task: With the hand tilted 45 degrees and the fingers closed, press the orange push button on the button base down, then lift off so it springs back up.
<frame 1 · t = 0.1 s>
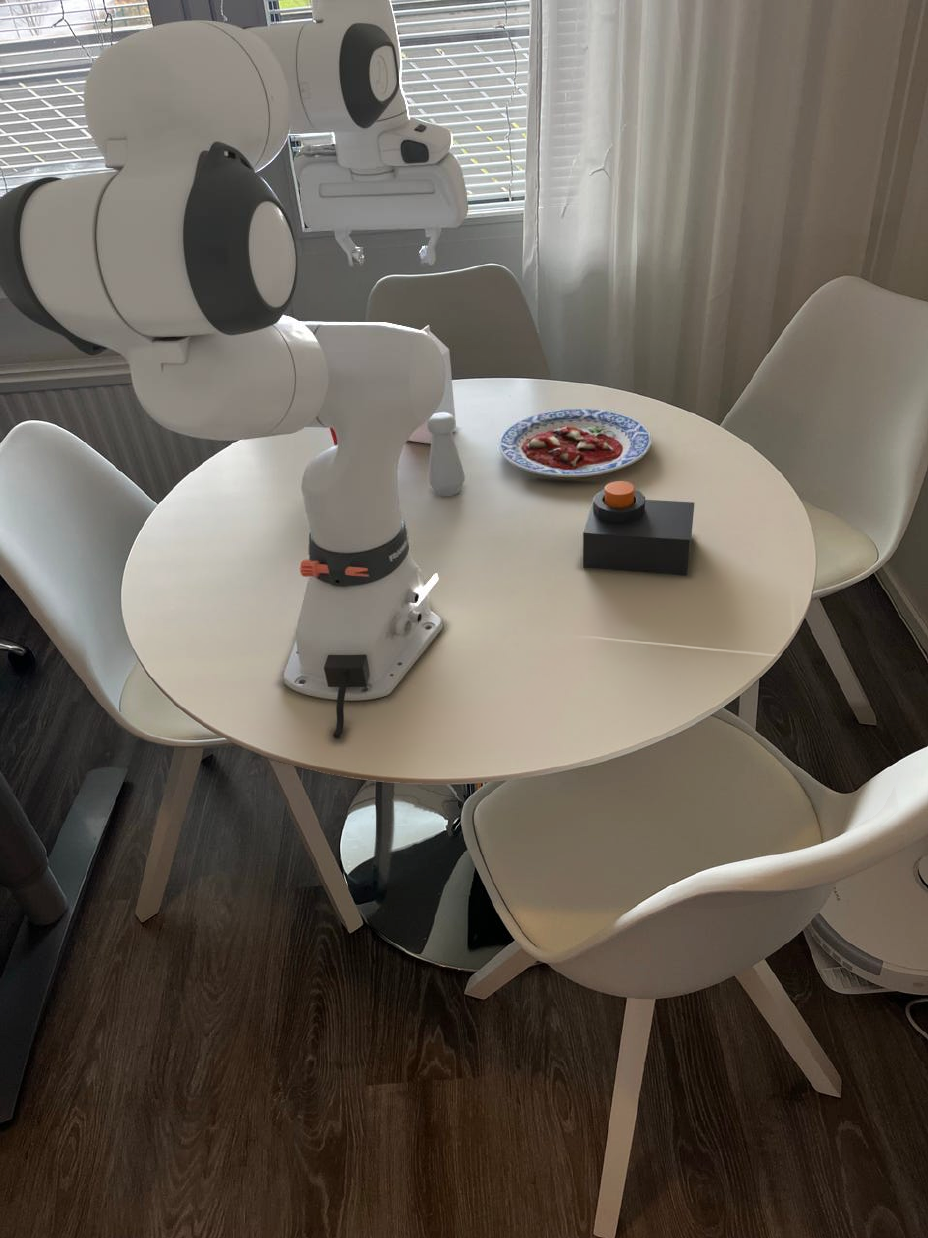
hand: (392, 263, 109), 39 cm above the table, tool pointing down, fingers open, 8 cm apart
orange push button: (619, 494, 120), point 8 cm above the table, slide at 0.1 cm
french fries: (362, 464, 153), on the table
ceramic plate: (574, 452, 149), on the table
salt shaker: (448, 491, 142), on the table
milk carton: (431, 436, 159), on the table
button base: (638, 552, 123), on the table
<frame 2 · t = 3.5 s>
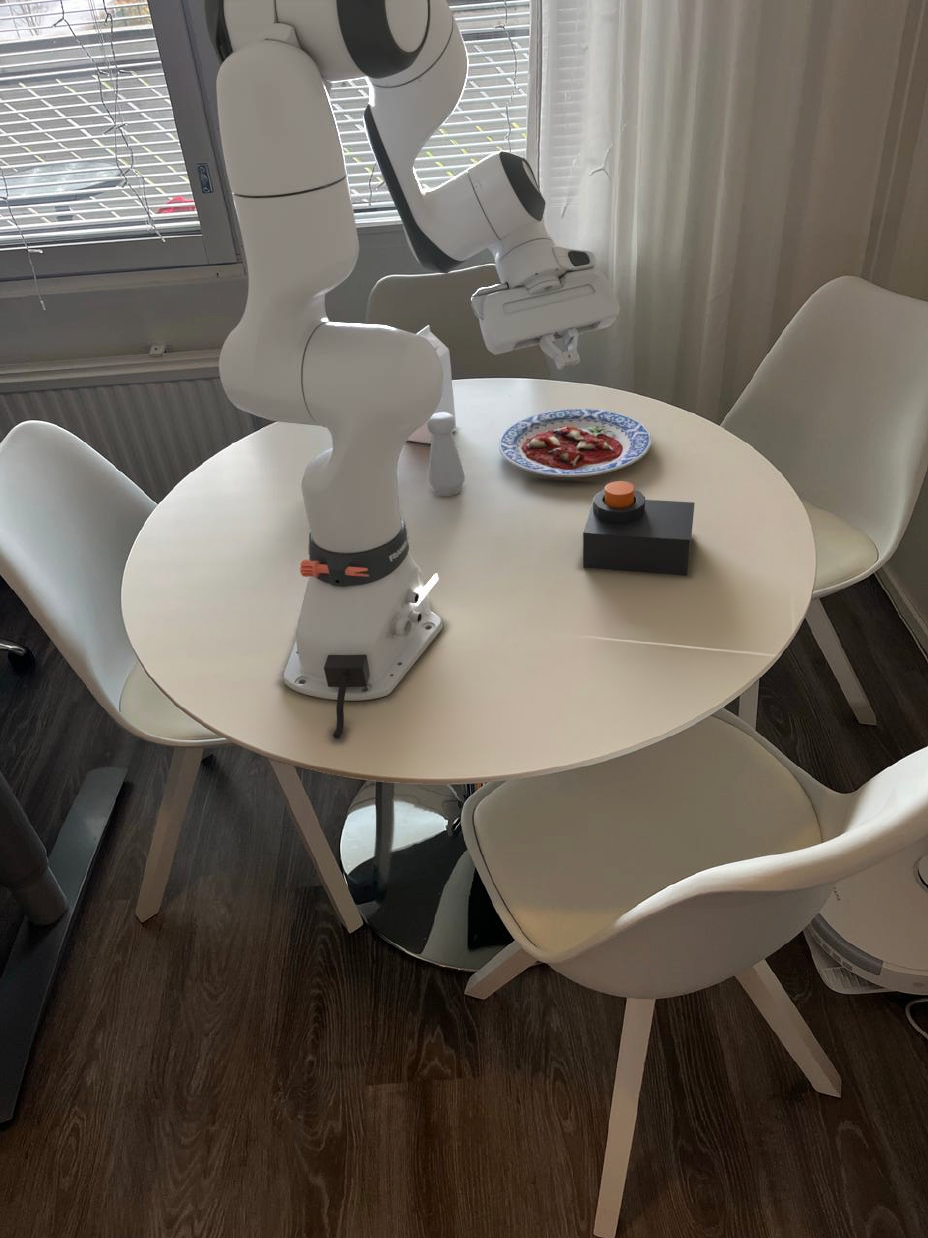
hand: (569, 365, 121), 22 cm above the table, tool tilted 45°, fingers closed
nothing on the table moved.
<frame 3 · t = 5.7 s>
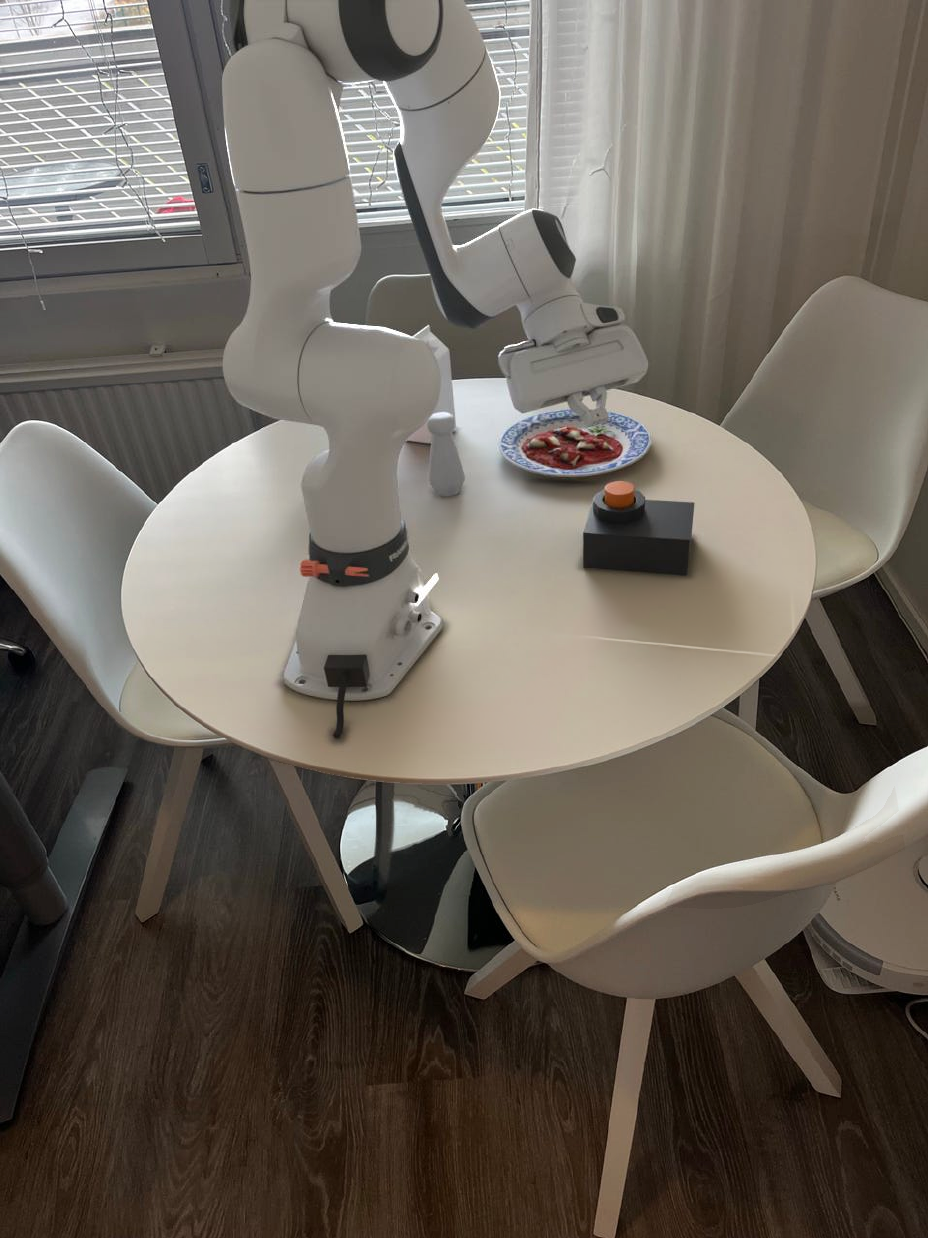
hand: (597, 423, 119), 17 cm above the table, tool tilted 45°, fingers closed
nothing on the table moved.
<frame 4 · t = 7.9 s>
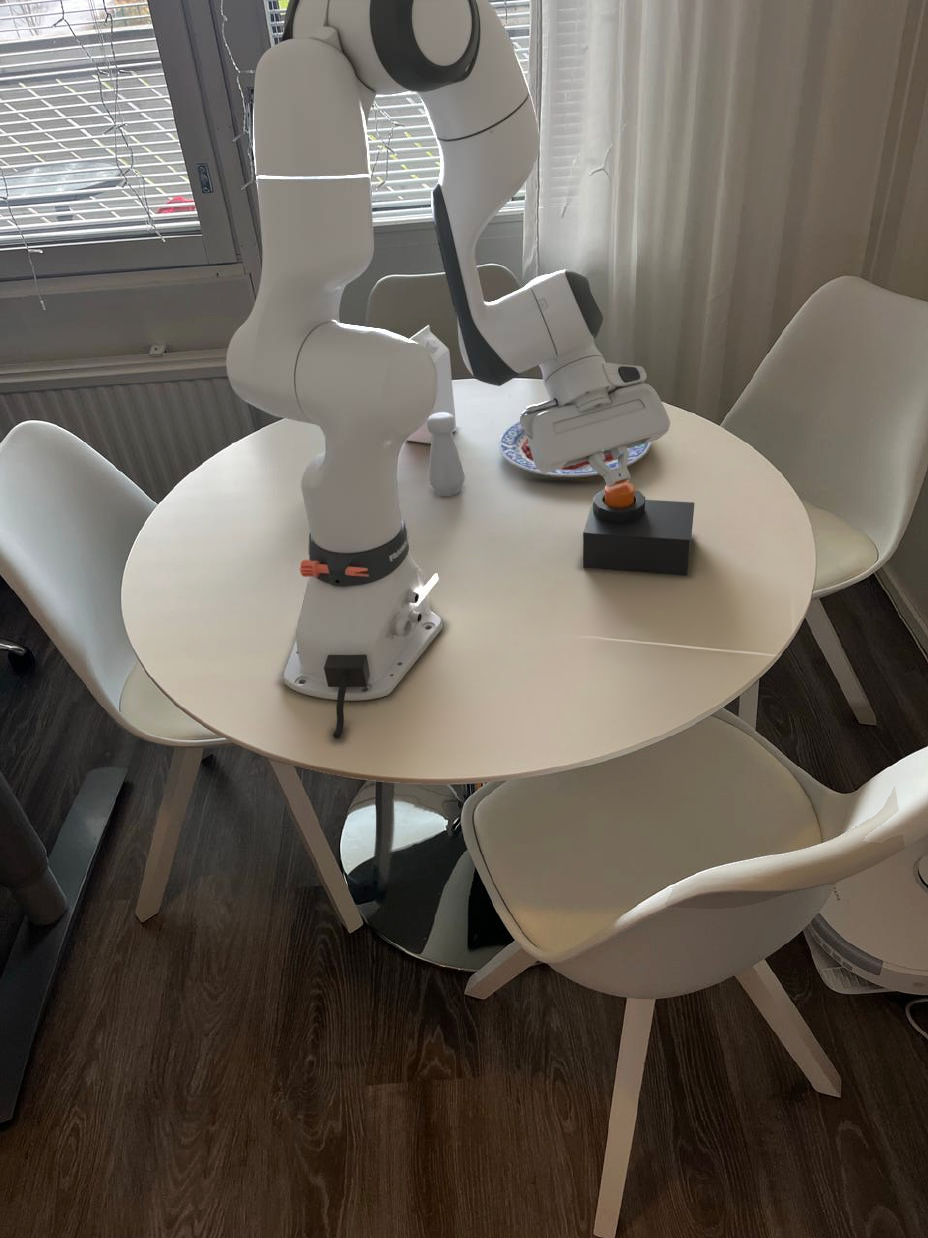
hand: (619, 483, 119), 10 cm above the table, tool tilted 45°, fingers closed, pressing on orange push button
orange push button: (619, 494, 120), point 8 cm above the table, slide at 0.1 cm, touching gripper
everything else where it was.
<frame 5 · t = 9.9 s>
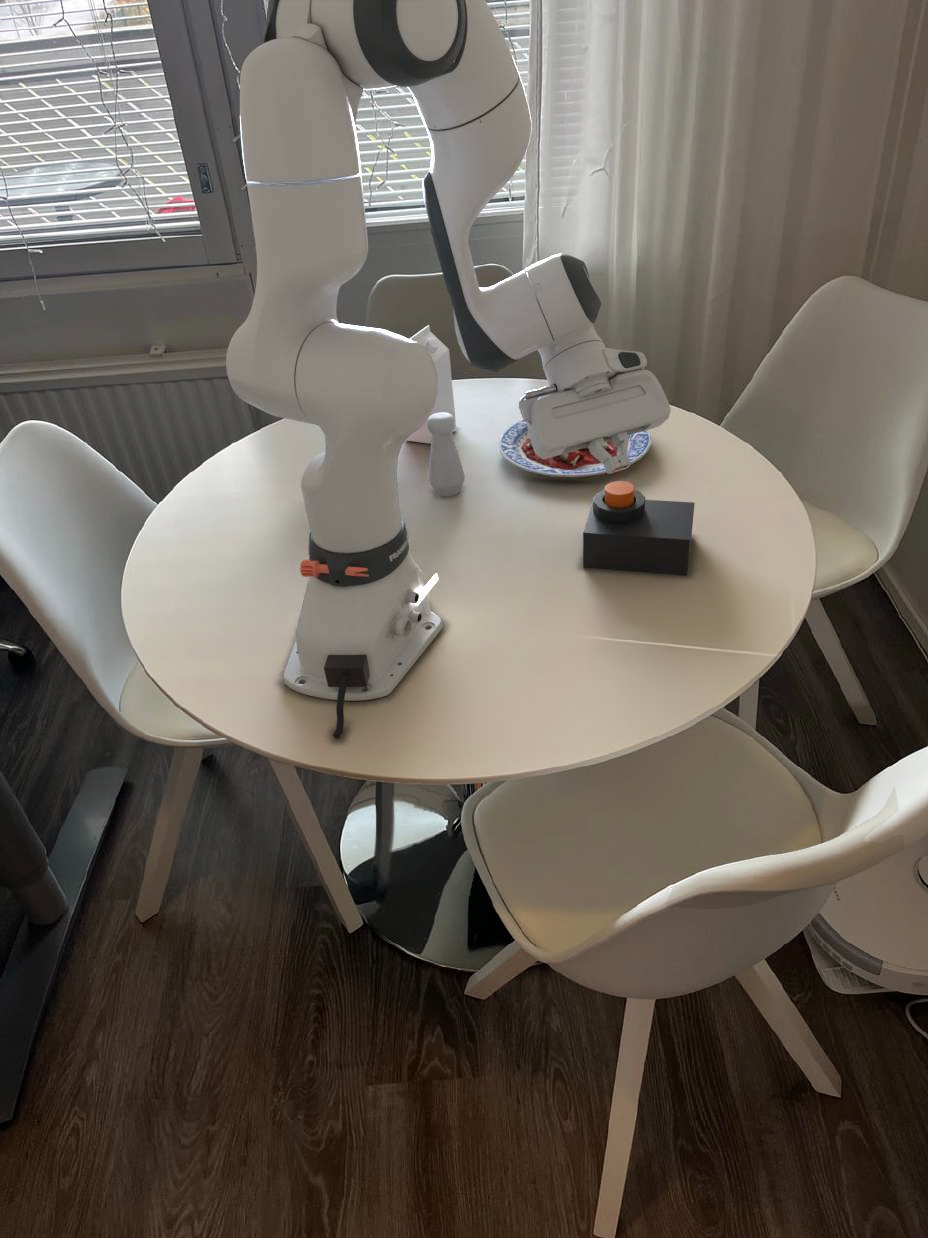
hand: (619, 469, 117), 12 cm above the table, tool tilted 45°, fingers closed
orange push button: (619, 494, 120), point 8 cm above the table, slide at 0.1 cm
everything else where it was.
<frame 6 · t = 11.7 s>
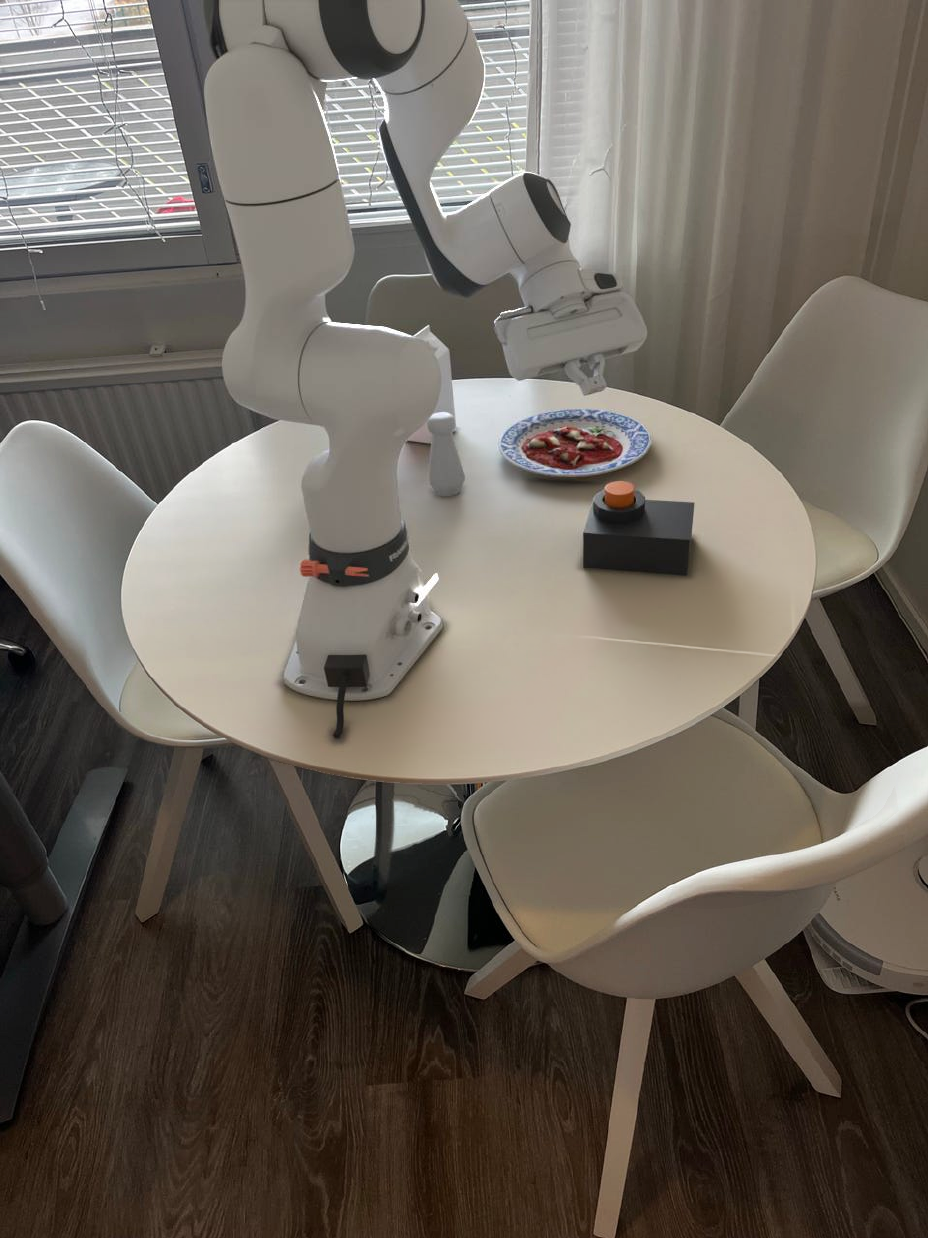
hand: (595, 391, 117), 21 cm above the table, tool tilted 45°, fingers closed
nothing on the table moved.
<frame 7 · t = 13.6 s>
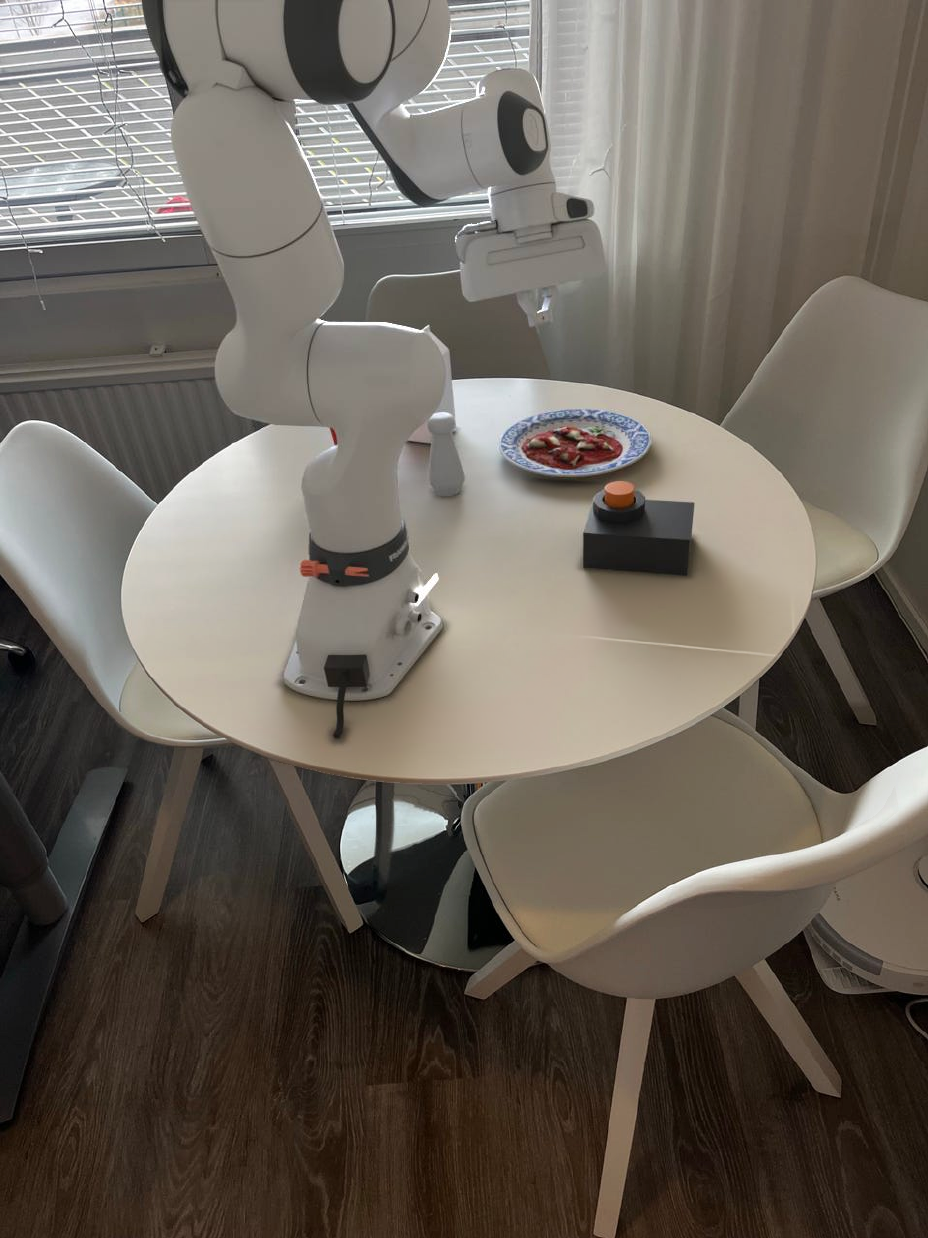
hand: (541, 324, 119), 28 cm above the table, tool tilted 15°, fingers closed
nothing on the table moved.
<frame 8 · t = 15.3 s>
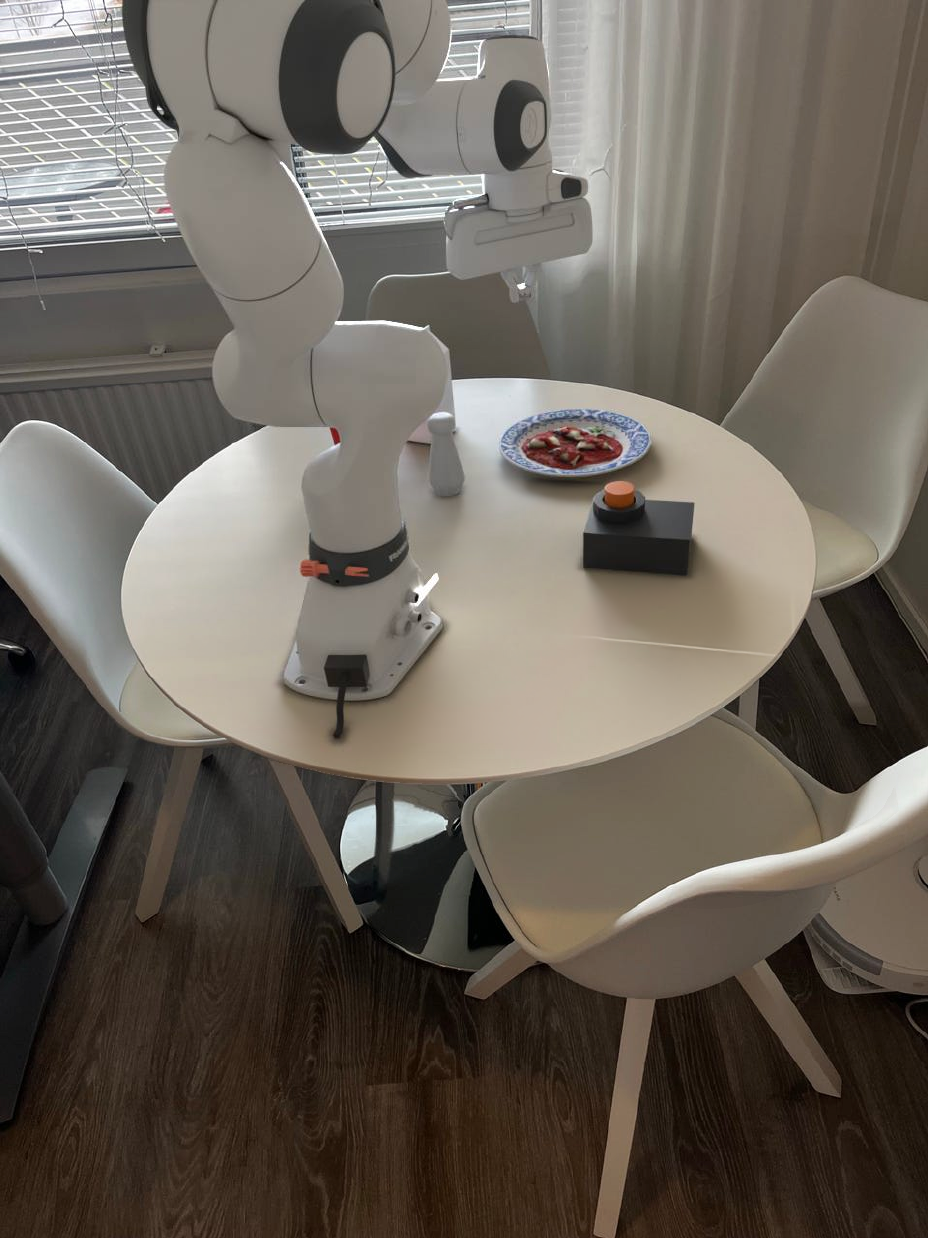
hand: (522, 299, 118), 31 cm above the table, tool pointing down, fingers closed
nothing on the table moved.
at the end: orange push button pushed in 1.3 cm at the most during the clip, back to where it started at the end; orange push button slide at 0.1 cm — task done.
